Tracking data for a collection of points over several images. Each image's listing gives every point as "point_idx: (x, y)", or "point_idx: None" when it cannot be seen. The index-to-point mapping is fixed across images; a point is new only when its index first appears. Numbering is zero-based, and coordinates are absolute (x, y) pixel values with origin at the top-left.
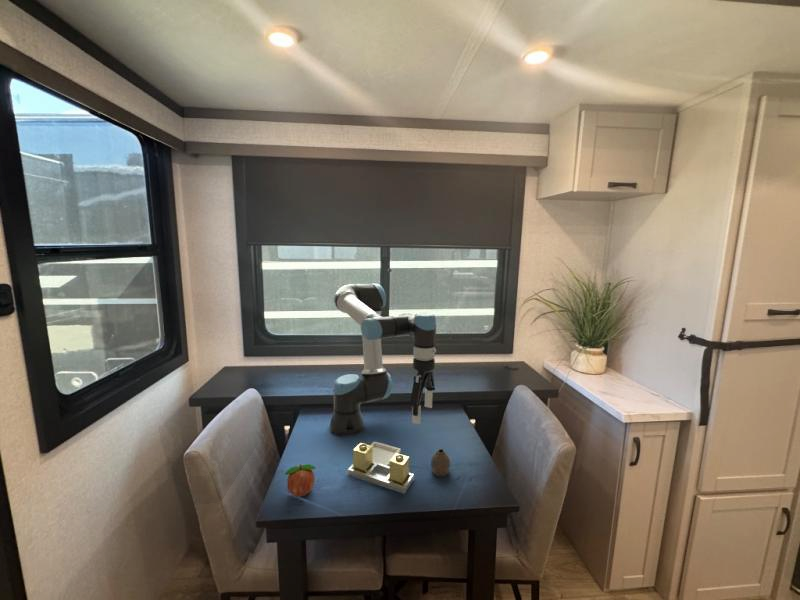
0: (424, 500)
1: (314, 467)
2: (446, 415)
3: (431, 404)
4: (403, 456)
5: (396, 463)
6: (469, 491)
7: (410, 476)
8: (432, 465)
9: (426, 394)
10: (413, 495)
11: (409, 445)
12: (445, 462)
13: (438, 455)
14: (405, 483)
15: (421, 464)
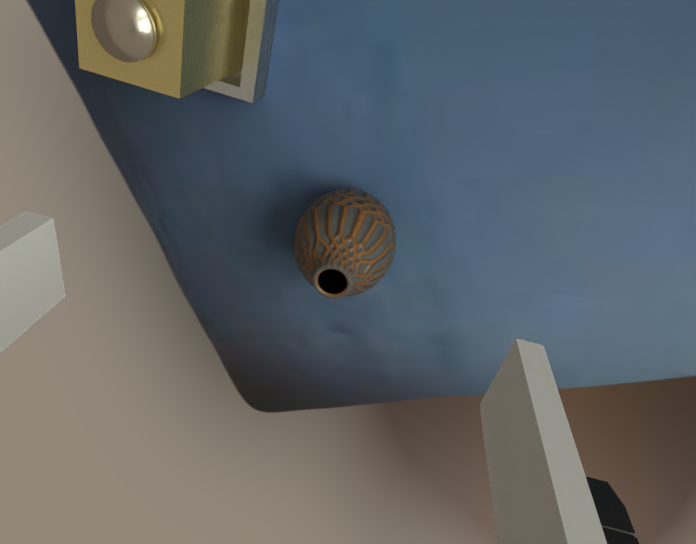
0: (158, 157)
1: None
2: None
3: (485, 444)
4: (142, 58)
5: (78, 11)
6: (269, 318)
7: (227, 85)
8: (313, 206)
9: (547, 537)
10: (166, 105)
11: (629, 14)
12: (306, 279)
13: (312, 261)
14: None
15: (410, 123)
